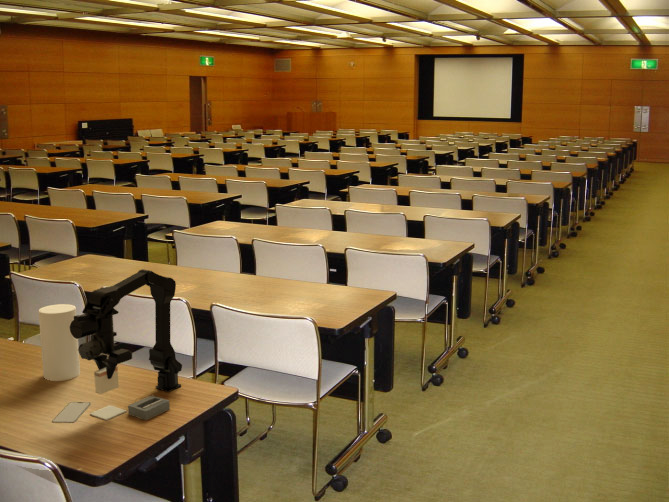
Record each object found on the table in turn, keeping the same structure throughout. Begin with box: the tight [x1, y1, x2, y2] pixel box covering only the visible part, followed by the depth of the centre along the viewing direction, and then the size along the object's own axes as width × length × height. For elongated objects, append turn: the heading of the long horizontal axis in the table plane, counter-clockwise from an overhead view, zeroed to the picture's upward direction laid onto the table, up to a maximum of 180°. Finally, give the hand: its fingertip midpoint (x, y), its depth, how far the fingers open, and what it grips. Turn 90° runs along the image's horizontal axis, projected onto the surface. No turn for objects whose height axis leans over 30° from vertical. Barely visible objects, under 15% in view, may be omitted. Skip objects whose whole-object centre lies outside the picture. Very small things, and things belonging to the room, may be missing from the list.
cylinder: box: [38, 303, 81, 382], centre depth 254 cm, size 12×12×25 cm
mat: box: [89, 404, 128, 422], centre depth 223 cm, size 8×8×1 cm
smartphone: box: [51, 401, 92, 424], centre depth 224 cm, size 7×1×15 cm
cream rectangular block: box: [93, 365, 120, 395], centre depth 221 cm, size 7×2×7 cm, turn 147°
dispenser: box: [127, 394, 171, 421], centre depth 224 cm, size 10×8×3 cm
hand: (106, 377), depth 221 cm, fingers closed on cream rectangular block, 2 cm apart
